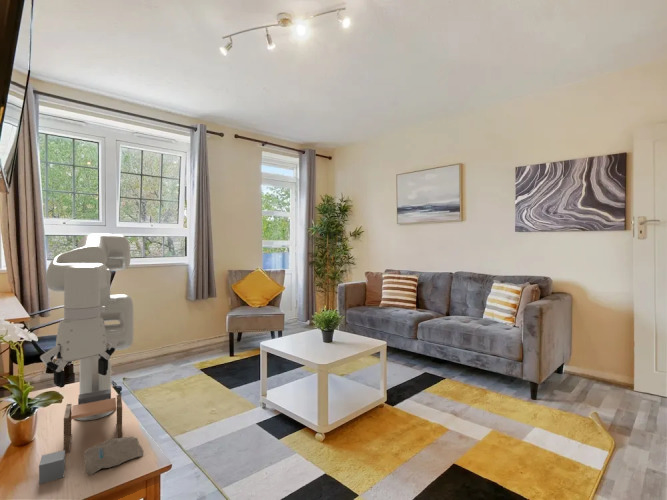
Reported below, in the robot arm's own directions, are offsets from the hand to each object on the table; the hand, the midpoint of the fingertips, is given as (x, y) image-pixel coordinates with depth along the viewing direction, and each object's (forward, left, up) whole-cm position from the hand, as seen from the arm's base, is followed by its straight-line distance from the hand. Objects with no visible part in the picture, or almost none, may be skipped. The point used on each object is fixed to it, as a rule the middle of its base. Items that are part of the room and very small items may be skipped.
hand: (82, 379), depth 91 cm
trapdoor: (-27, +2, -19) cm, 33 cm away
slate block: (-8, -7, -27) cm, 29 cm away
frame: (-24, +2, -27) cm, 36 cm away
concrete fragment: (-7, +7, -28) cm, 29 cm away
